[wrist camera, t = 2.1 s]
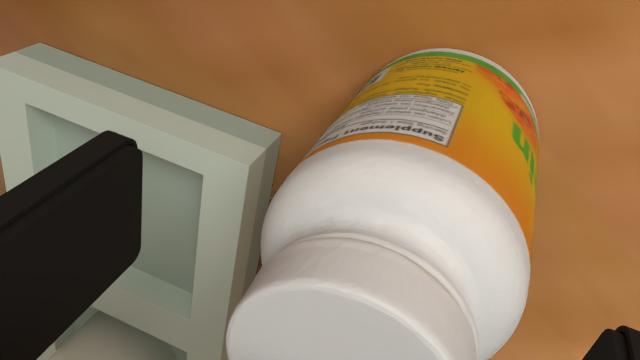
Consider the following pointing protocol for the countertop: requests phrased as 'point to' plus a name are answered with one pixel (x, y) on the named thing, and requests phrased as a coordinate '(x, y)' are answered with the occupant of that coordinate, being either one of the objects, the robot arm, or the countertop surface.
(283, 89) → the countertop surface
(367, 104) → the supplement bottle
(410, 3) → the countertop surface
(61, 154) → the caddy
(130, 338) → the white rounded cylinder
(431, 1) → the countertop surface
